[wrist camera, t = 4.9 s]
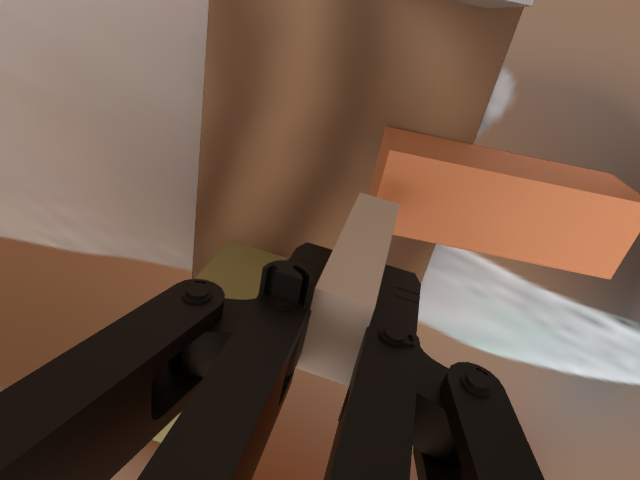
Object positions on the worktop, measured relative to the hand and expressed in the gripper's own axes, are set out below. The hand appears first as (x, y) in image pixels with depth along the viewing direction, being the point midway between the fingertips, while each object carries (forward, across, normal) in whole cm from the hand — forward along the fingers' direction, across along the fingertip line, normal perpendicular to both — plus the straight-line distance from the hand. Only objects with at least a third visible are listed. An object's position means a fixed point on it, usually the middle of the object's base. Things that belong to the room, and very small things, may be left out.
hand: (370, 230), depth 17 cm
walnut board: (+10, -4, 0) cm, 11 cm away
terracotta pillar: (+6, -1, 0) cm, 6 cm away
